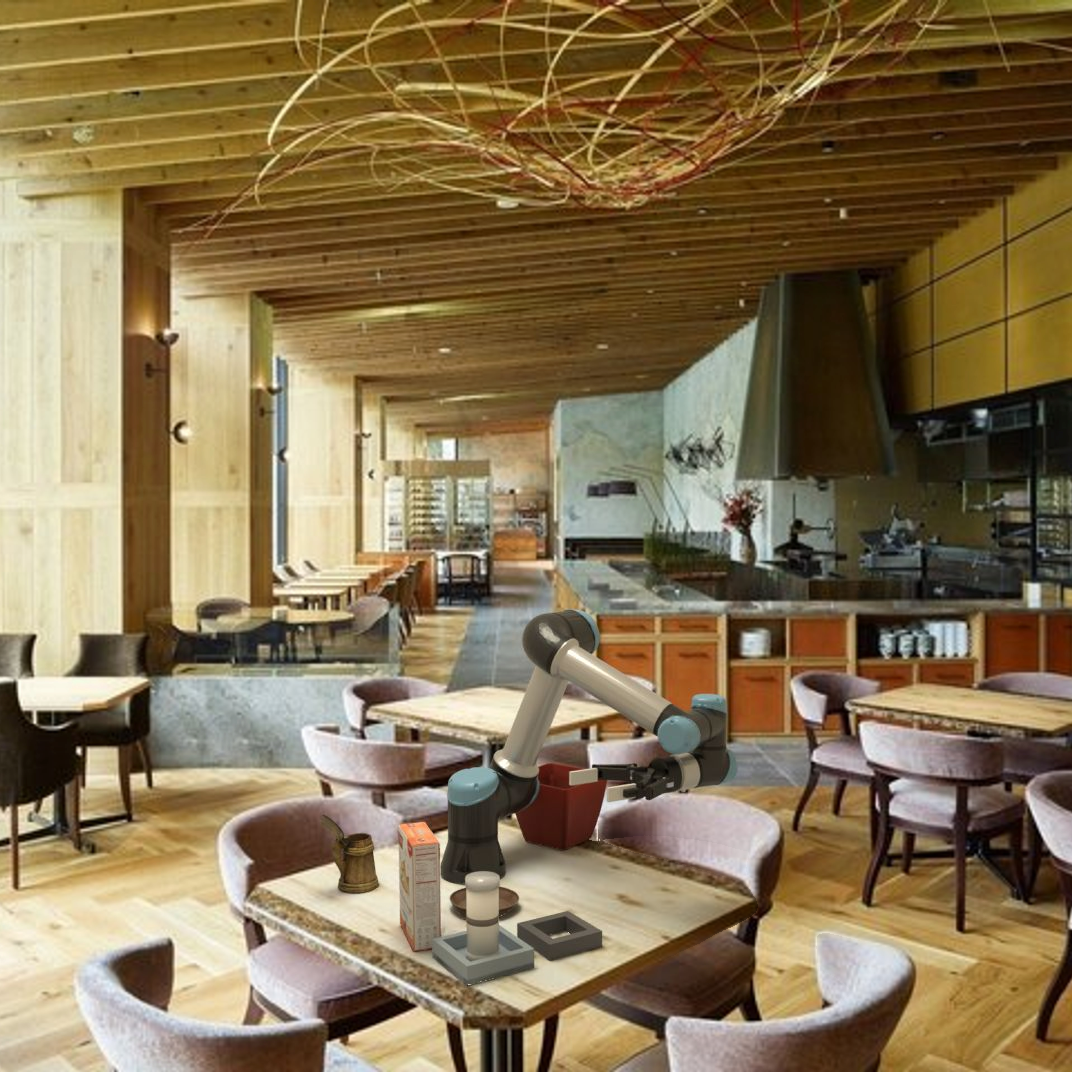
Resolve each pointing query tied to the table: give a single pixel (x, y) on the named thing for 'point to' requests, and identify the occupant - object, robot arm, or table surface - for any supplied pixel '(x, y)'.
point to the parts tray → (509, 960)
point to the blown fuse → (482, 915)
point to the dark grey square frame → (576, 942)
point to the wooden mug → (353, 859)
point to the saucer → (505, 900)
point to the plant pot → (561, 809)
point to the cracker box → (419, 884)
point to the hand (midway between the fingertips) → (588, 786)
